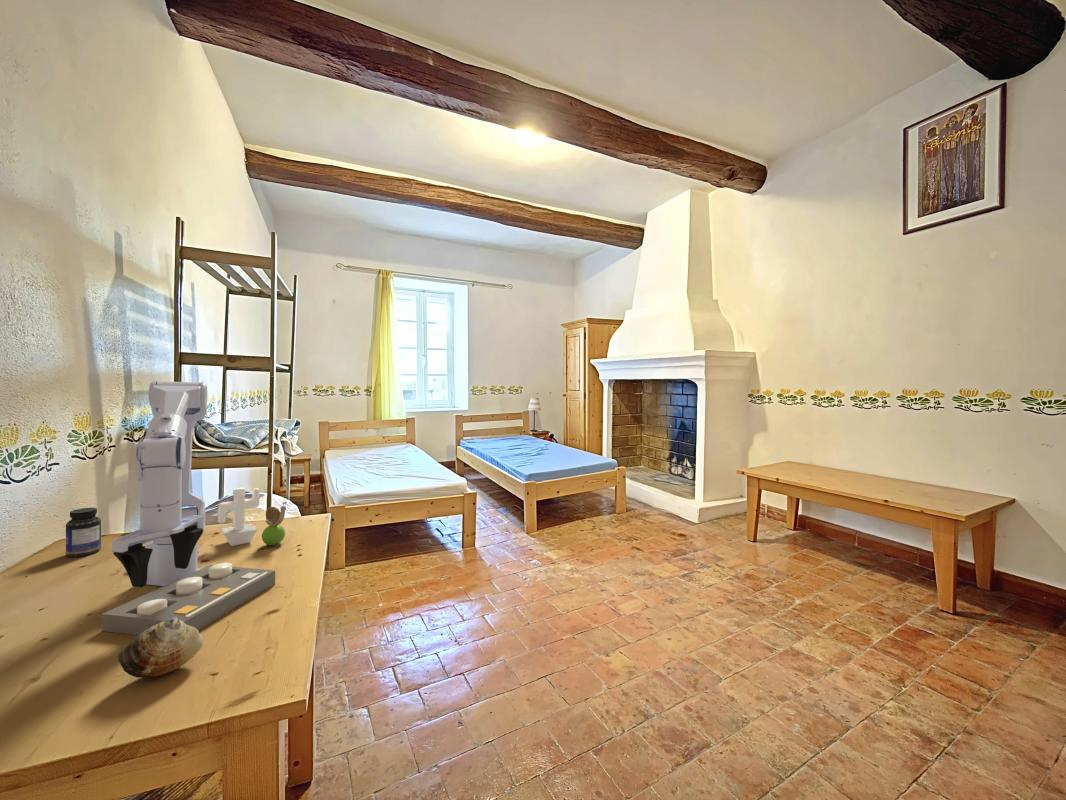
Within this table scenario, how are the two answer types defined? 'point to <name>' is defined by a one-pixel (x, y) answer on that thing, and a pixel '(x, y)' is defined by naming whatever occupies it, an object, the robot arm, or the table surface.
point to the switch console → (191, 601)
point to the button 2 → (220, 571)
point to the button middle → (188, 586)
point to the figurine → (239, 516)
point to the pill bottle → (83, 533)
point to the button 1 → (151, 606)
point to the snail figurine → (274, 526)
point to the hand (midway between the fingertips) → (161, 576)
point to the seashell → (160, 649)
